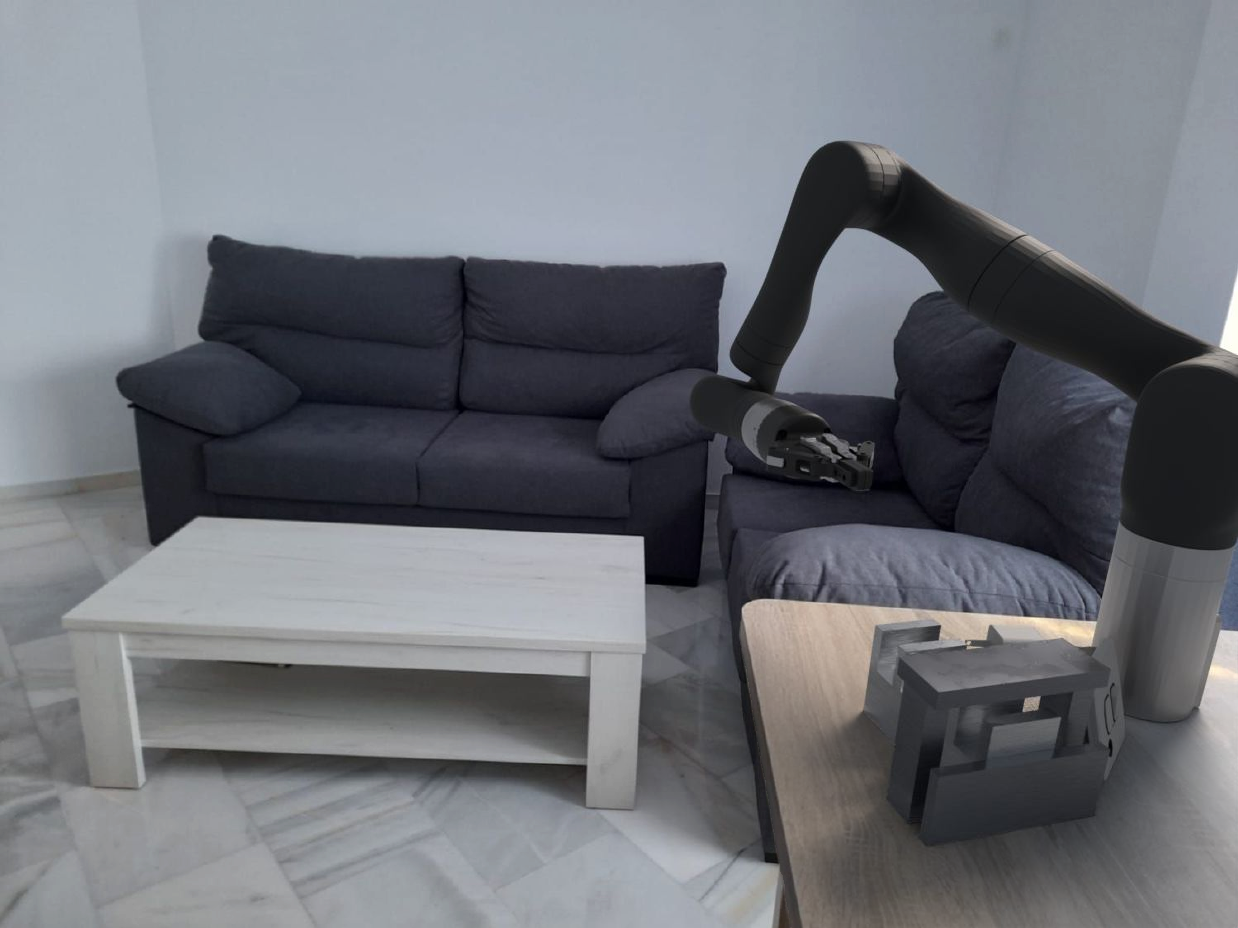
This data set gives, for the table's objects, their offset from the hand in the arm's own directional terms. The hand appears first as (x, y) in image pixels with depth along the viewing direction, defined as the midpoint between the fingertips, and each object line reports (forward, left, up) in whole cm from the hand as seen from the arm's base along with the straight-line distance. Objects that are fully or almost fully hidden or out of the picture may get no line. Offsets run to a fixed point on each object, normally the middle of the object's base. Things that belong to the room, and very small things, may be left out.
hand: (864, 481), depth 85 cm
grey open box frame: (0, +22, -19) cm, 29 cm away
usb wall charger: (-15, +5, -20) cm, 25 cm away
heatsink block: (0, +17, -19) cm, 26 cm away
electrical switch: (-13, +19, -20) cm, 30 cm away
